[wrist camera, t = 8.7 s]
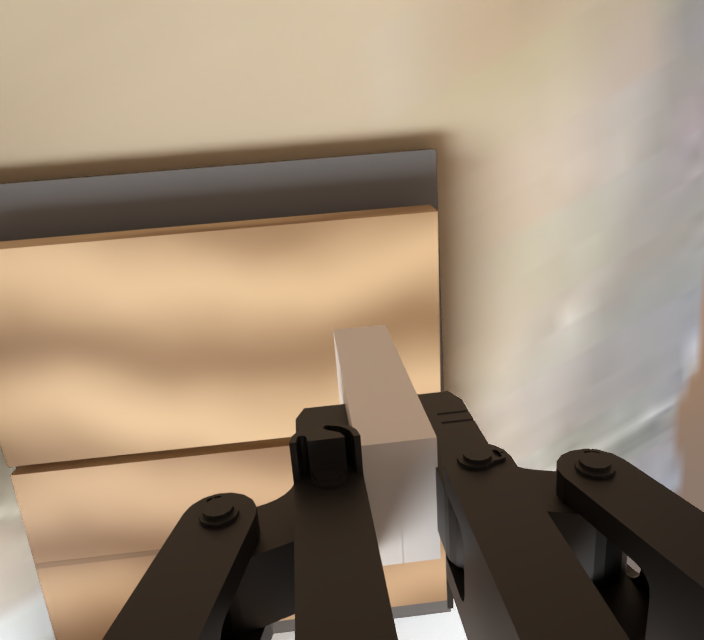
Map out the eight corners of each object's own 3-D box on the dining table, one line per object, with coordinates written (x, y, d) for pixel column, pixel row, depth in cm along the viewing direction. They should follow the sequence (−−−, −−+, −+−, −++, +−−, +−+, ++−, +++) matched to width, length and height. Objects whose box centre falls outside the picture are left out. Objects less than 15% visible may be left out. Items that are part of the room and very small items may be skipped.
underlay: (-47, 187, 26) (-61, 189, 25) (431, 148, 27) (435, 149, 27) (74, 644, 34) (68, 659, 33) (446, 598, 35) (450, 611, 34)
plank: (-44, 245, 25) (-63, 254, 24) (430, 204, 26) (437, 211, 25) (21, 448, 29) (7, 467, 28) (434, 405, 30) (440, 420, 29)
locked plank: (24, 458, 29) (10, 475, 28) (434, 415, 30) (441, 429, 29) (68, 625, 32) (58, 648, 31) (440, 580, 33) (447, 600, 32)
